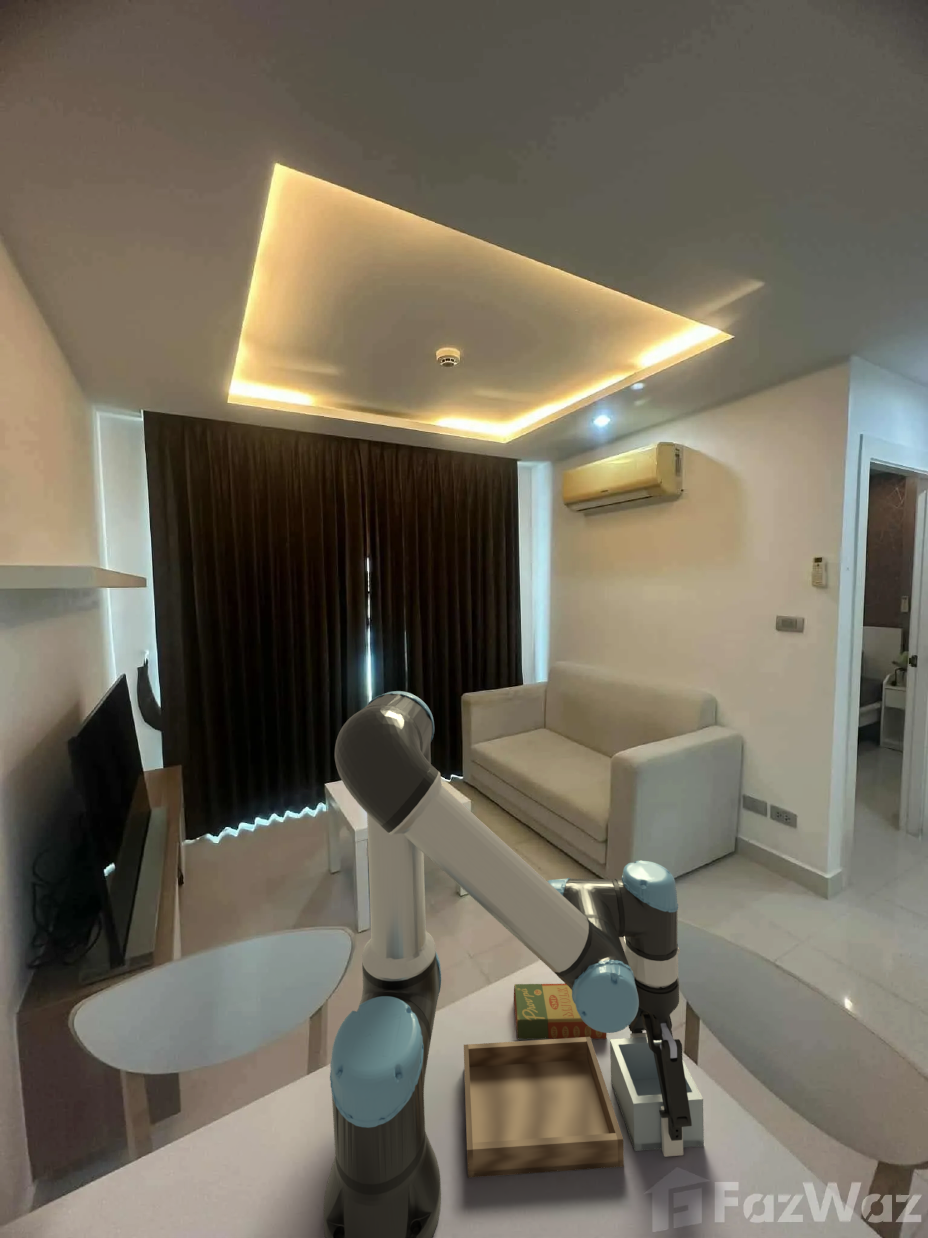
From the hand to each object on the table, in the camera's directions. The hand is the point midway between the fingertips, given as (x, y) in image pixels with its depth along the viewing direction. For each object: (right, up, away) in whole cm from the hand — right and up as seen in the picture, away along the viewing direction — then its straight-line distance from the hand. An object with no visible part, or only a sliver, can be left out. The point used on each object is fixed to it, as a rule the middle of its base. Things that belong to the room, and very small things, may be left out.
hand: (655, 1110), depth 74 cm
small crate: (0, 0, 0) cm, 0 cm away
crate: (-18, -1, 0) cm, 18 cm away
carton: (-12, -1, +17) cm, 20 cm away
